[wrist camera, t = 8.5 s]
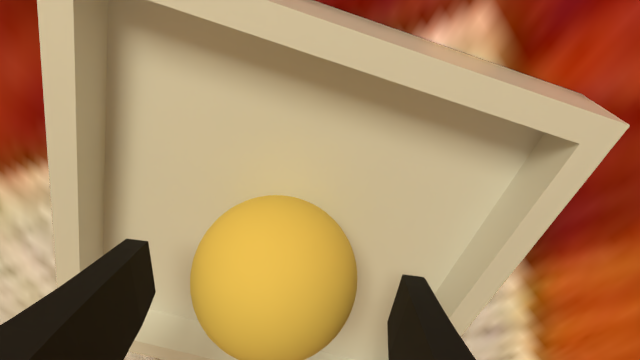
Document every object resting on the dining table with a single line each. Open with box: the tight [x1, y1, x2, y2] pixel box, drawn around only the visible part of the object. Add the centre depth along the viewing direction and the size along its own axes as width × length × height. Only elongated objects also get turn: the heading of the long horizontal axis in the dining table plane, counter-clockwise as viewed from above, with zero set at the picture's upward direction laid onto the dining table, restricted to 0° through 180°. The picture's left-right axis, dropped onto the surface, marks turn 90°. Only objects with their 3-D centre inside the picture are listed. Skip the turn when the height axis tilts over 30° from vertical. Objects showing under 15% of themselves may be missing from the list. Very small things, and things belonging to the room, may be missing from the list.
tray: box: [37, 0, 630, 360], centre depth 13 cm, size 14×14×2 cm
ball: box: [190, 195, 357, 360], centre depth 12 cm, size 5×5×5 cm
